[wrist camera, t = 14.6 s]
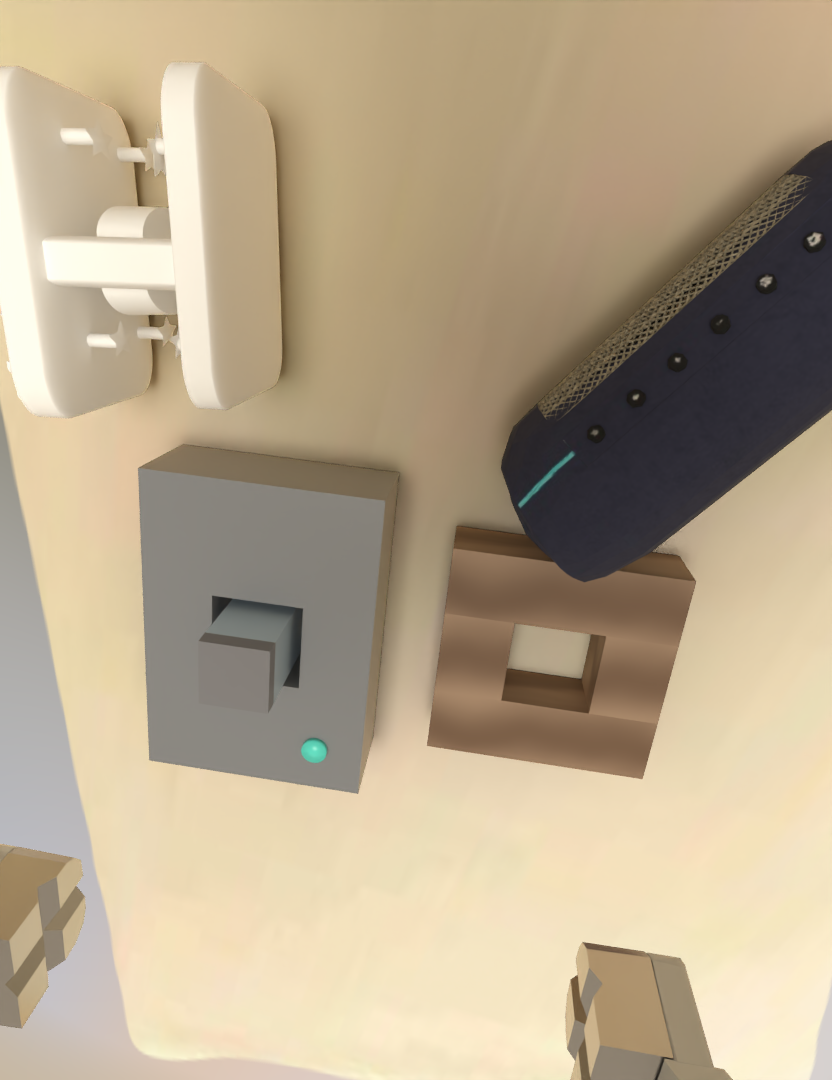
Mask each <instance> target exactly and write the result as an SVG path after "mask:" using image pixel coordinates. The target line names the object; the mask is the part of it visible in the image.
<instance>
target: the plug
mask: <svg viewBox="0 0 832 1080" xmlns="http://www.w3.org/2000/svg"><path fill="white" fill-rule="evenodd" d="M302 619H303V608H296V607H289V606H282V605H275V604H268V603H261V602H254V601H247V600H240V599H232V600H231V602H230V603H229V604H228V605H227V606H226V608H225V609H224V610H223V611H222V613H221V614H220V615H219V616H218V617H217V619H216V620H215V621H214V622H213V624H212V625H211V626H210V627H209V628H208V630H207V631H206V632H205V633H204V635H203V636H202V637H201V638H200V639H199V641H198V682H199V704H206V705H212V706H219V707H225V708H232V709H238V710H245V711H252V712H258V713H265V714H268V713H269V711H270V709H271V707H272V706H273V704H274V702H275V700H276V698H277V696H278V694H279V692H280V690H281V688H282V686H283V684H284V683H285V681H286V679H287V677H288V675H289V673H290V671H291V669H292V667H293V665H294V663H295V661H296V659H297V658H298V656H299V654H300V652H301V638H302Z"/></svg>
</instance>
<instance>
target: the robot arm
mask: <svg viewBox="0 0 832 1080" xmlns="http://www.w3.org/2000/svg"><path fill="white" fill-rule="evenodd" d="M82 876H83V872H82V865H81V860H79V859H76V858H72V857H67V856H62V855H57V854H52V853H47V852H42V851H37V850H31V849H27V848H22V847H15V846H10V845H4V844H0V1025H2V1026H9V1027H15V1028H22V1027H23V1026H24V1024H25V1023H26V1021H27V1020H28V1018H29V1016H30V1015H31V1013H32V1012H33V1010H34V1009H35V1007H36V1005H37V1004H38V1002H39V1001H40V999H41V998H42V996H43V994H44V993H45V991H46V990H47V988H48V974H47V971H49V970H51V969H52V968H54V967H55V966H57V965H58V964H60V963H61V962H63V961H64V960H66V958H67V956H68V955H69V953H70V951H71V950H72V948H73V946H74V945H75V943H76V941H77V938H78V935H79V933H80V930H81V928H82V925H83V922H84V915H85V909H86V906H85V896H84V895H83V894H82V893H81V891H80V890H79V889H78V887H76V885H77V884H78V882H79V881H80V879H81V877H82ZM576 964H577V973H578V975H577V976H575V977H574V978H572V979H571V980H570V985H569V989H568V994H567V1003H566V1014H565V1018H566V1040H567V1049H568V1051H569V1052H570V1054H571V1055H572V1057H573V1058H574V1060H575V1064H574V1068H573V1072H572V1076H571V1080H733V1079H732V1078H731V1077H730V1076H729V1075H728V1073H727V1072H726V1071H725V1070H724V1069H719V1068H715V1067H714V1066H713V1062H712V1059H711V1055H710V1052H709V1048H708V1045H707V1041H706V1038H705V1034H704V1031H703V1027H702V1024H701V1020H700V1017H699V1013H698V1010H697V1006H696V1003H695V999H694V996H693V992H692V989H691V985H690V981H689V978H688V974H687V971H686V967H685V964H684V963H683V962H682V960H681V959H680V958H676V957H670V956H664V955H658V954H652V953H645V952H643V951H637V950H630V949H624V948H617V947H611V946H604V945H598V944H591V943H585V942H582V944H581V945H580V947H579V950H578V953H577V957H576Z"/></svg>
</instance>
